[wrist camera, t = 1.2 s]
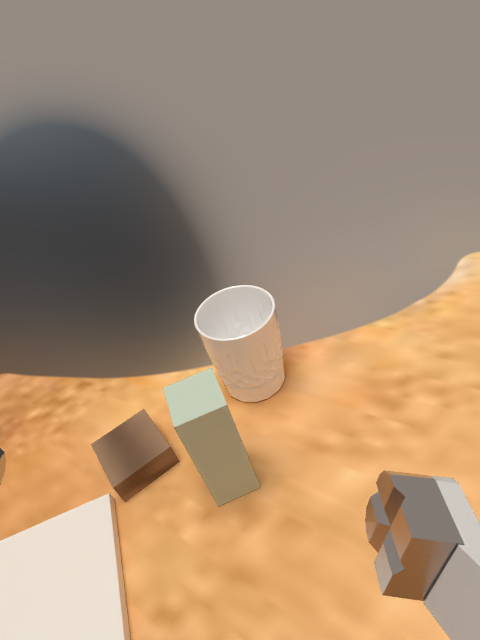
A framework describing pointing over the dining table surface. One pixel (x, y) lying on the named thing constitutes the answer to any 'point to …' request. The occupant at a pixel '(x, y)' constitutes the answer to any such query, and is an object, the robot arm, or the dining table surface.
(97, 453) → the walnut block
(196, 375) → the sage block
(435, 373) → the dining table surface
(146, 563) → the dining table surface
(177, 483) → the dining table surface
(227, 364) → the white cup
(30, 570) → the plate
